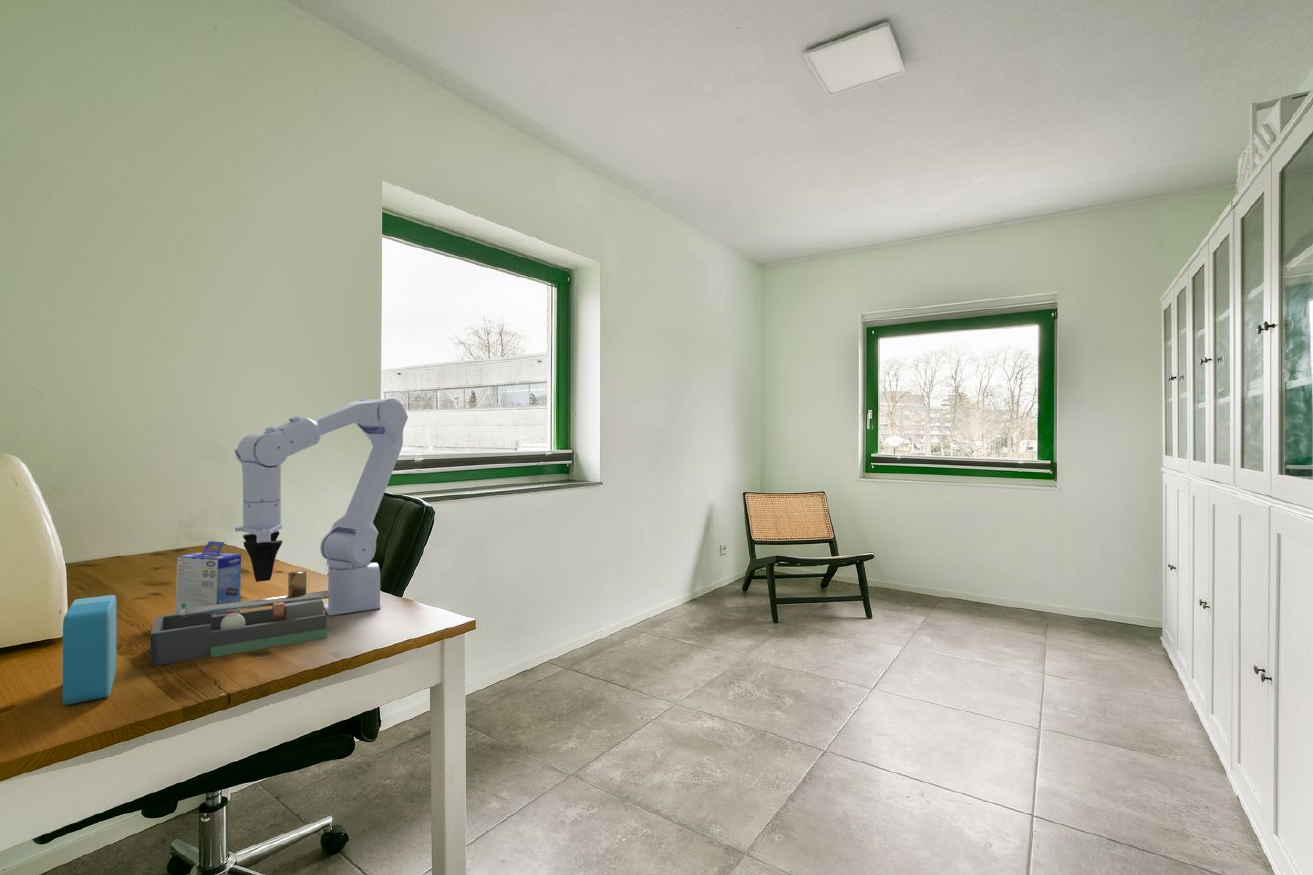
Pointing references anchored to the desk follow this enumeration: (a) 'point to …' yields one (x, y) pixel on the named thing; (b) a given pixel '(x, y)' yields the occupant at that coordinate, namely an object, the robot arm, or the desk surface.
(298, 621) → the pitch
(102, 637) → the blue flat block
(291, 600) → the kicker
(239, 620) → the ball
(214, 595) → the ink cartridge box
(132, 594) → the desk surface
